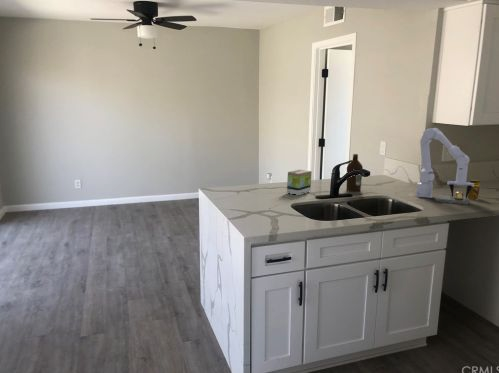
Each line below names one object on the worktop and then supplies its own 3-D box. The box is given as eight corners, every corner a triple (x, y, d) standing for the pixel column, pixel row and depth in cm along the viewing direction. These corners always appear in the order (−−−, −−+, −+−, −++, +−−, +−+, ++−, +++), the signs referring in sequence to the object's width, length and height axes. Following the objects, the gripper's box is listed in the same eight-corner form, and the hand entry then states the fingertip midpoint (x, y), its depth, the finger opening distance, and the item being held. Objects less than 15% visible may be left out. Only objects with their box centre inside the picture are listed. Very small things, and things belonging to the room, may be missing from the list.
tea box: (299, 196, 273) (300, 173, 270) (286, 193, 279) (286, 171, 276) (311, 192, 285) (311, 170, 282) (298, 190, 291) (298, 168, 288)
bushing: (454, 202, 260) (455, 192, 259) (454, 200, 264) (455, 191, 262) (462, 203, 258) (463, 193, 257) (462, 201, 262) (463, 192, 261)
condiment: (478, 200, 265) (480, 181, 262) (463, 198, 269) (465, 180, 266) (478, 198, 271) (481, 179, 269) (464, 196, 275) (466, 178, 273)
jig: (435, 201, 261) (436, 198, 260) (435, 197, 271) (435, 194, 270) (468, 204, 254) (468, 201, 254) (466, 200, 264) (467, 197, 264)
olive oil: (342, 190, 292) (344, 154, 286) (351, 188, 299) (353, 152, 294) (355, 192, 284) (358, 155, 279) (364, 190, 291) (366, 154, 286)
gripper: (448, 175, 257) (446, 197, 259) (475, 177, 251) (472, 199, 254) (448, 173, 263) (446, 194, 266) (474, 175, 258) (471, 197, 260)
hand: (459, 197), depth 260 cm, fingers open, 7 cm apart
